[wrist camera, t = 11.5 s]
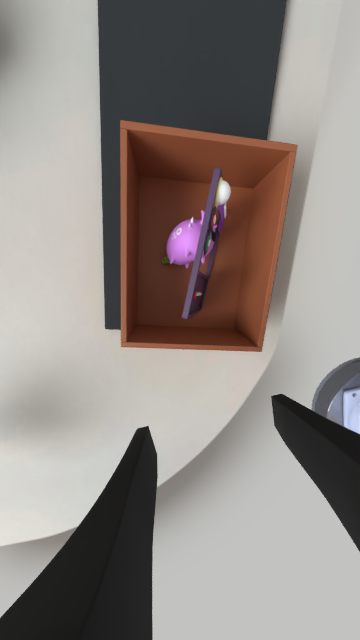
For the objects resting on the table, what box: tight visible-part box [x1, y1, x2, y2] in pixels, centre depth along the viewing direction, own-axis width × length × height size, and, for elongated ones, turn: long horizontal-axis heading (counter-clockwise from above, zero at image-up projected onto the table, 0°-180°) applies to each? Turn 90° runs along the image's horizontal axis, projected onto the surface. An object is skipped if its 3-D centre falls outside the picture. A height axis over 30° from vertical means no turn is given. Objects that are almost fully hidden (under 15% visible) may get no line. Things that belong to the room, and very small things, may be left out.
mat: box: [98, 0, 286, 330], centre depth 14 cm, size 48×14×1 cm, turn 176°
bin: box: [120, 120, 297, 352], centre depth 16 cm, size 14×11×6 cm
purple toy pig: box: [162, 168, 231, 319], centre depth 15 cm, size 7×5×9 cm
